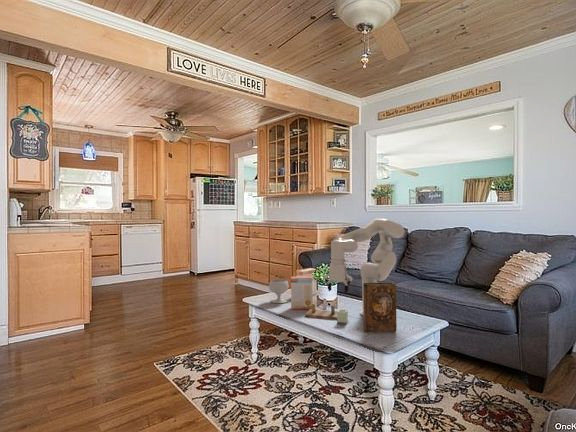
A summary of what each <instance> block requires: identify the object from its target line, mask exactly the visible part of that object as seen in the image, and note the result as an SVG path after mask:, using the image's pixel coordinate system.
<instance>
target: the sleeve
mask: <svg viewBox="0 0 576 432" xmlns="http://www.w3.org/2000/svg"><path fill="white" fill-rule="evenodd" d="M348 313H349V312H348V309H341V308H340V309H338V310H337V320H336V321H337V322H336V324H337V325H341V326H342V325H344V326H347V325H348V323H349V319H348V318H349V316H348V315H349V314H348Z"/></svg>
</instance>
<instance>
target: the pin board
mask: <svg viewBox="0 0 576 432" xmlns="http://www.w3.org/2000/svg"><path fill="white" fill-rule="evenodd" d="M335 306H336V305H330V310H325V309H316V303H313V304H312V309H310V310H307V312H305V314H304V317H305V318H311V319H313V318H314V319H322V320H334V321H335V320H336V321H337V311H338V310H337V311H335Z"/></svg>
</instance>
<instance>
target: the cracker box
mask: <svg viewBox="0 0 576 432" xmlns="http://www.w3.org/2000/svg"><path fill="white" fill-rule="evenodd" d="M290 277H291V278H290V295H291V296H290V299H291V300H290V301H291V302H290V303H291V306H290V307H291V310H307V311H309V310H310V309H312V304H314V300H313V299H314V295H313V286H312V276H297V275H296V276H290Z"/></svg>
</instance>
